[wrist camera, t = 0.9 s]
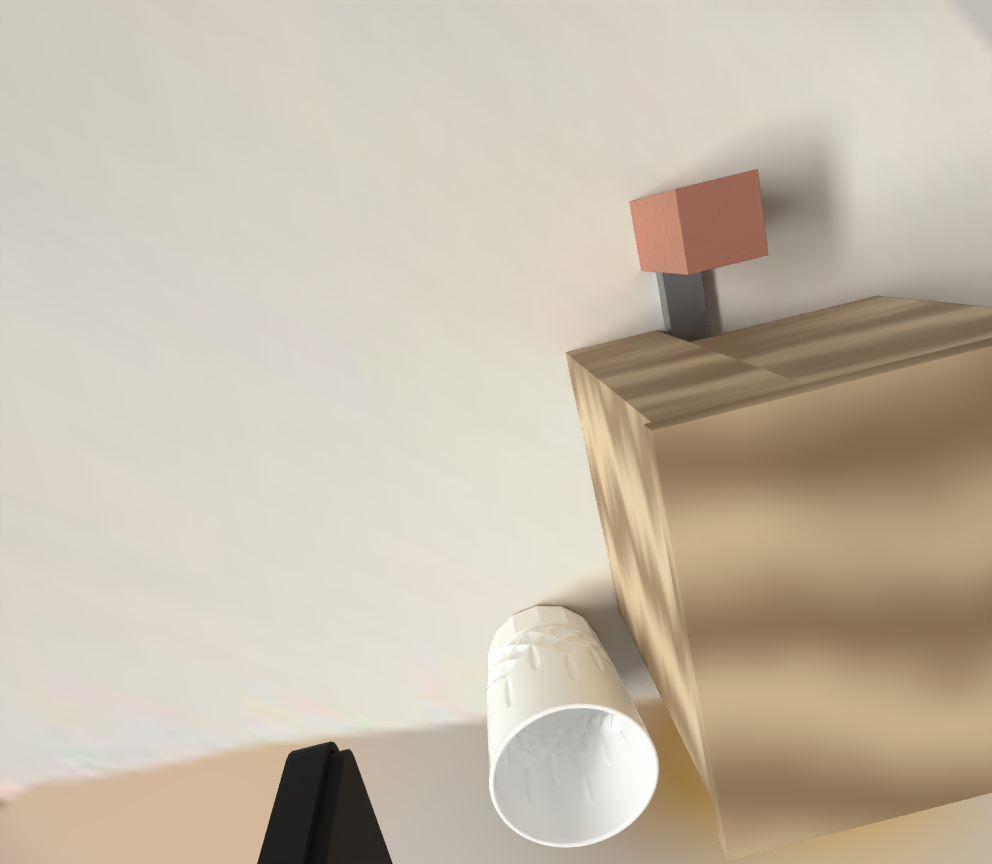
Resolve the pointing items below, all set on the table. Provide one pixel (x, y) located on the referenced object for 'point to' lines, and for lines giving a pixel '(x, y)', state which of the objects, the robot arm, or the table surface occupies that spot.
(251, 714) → the table surface
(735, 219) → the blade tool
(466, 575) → the table surface
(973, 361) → the oak bench cabinet
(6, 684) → the table surface
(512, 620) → the white cup
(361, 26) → the table surface
